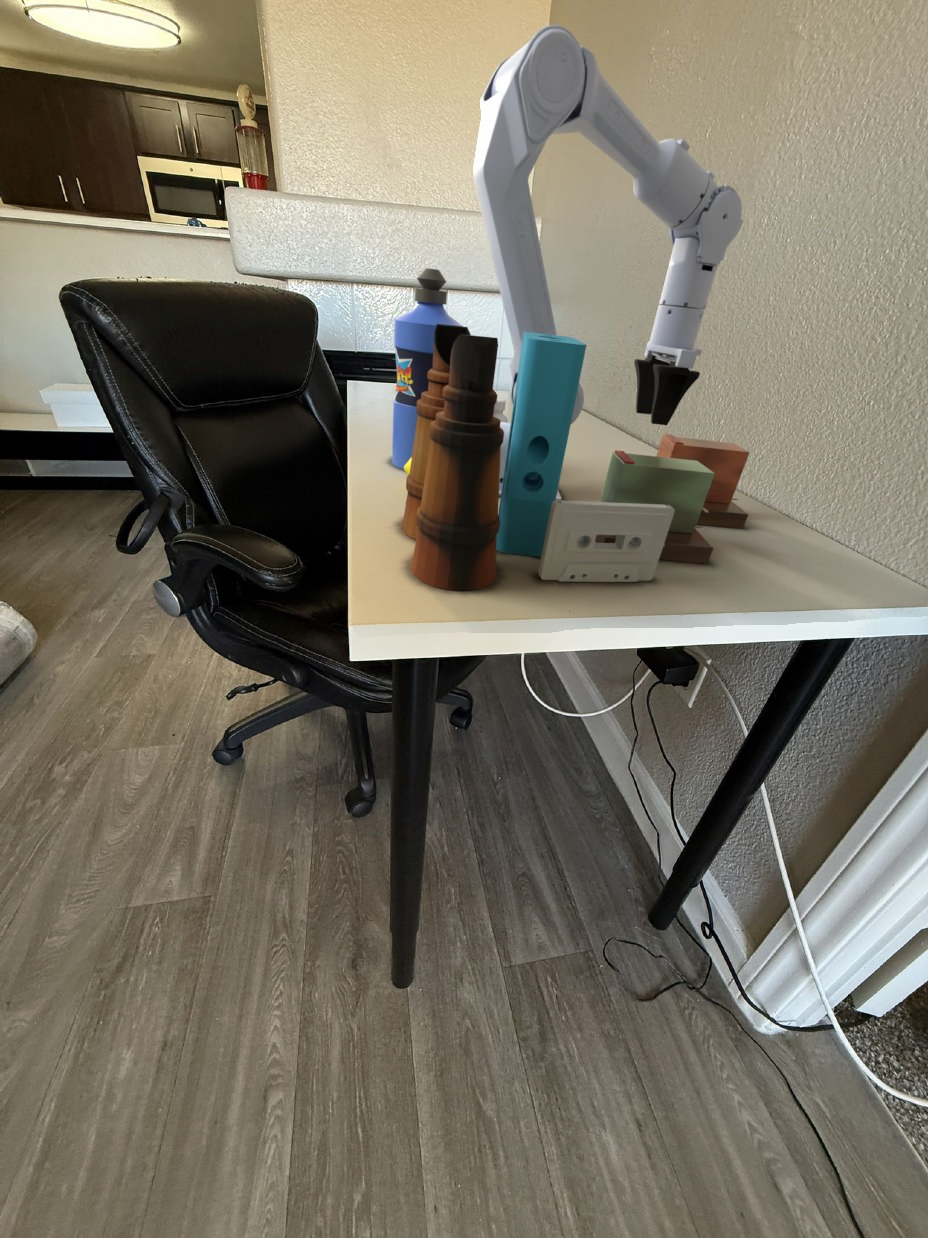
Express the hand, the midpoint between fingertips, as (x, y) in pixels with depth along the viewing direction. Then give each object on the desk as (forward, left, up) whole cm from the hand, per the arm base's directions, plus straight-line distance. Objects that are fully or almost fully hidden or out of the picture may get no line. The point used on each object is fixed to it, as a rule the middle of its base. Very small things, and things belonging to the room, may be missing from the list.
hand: (650, 418), depth 74 cm
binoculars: (-27, -28, -11) cm, 41 cm away
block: (-19, -24, -11) cm, 32 cm away
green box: (-4, -20, -8) cm, 22 cm away
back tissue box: (+6, -7, -8) cm, 12 cm away
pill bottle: (-22, +6, -11) cm, 25 cm away
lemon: (-30, -10, -11) cm, 33 cm away
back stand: (+6, -7, -10) cm, 14 cm away
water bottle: (-32, +2, -11) cm, 34 cm away
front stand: (-4, -20, -10) cm, 23 cm away
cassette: (-12, -32, -11) cm, 36 cm away
